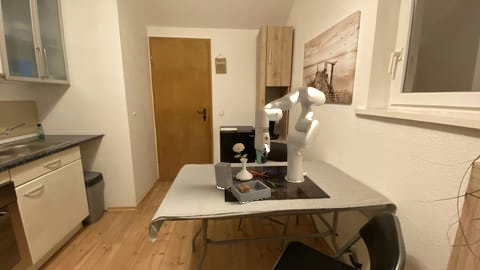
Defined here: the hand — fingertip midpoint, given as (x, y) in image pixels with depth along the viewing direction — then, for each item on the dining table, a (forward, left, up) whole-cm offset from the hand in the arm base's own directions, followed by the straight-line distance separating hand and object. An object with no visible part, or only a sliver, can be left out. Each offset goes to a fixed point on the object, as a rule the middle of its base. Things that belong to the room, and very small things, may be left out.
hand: (261, 161), depth 121 cm
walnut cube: (+12, +2, -17) cm, 21 cm away
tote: (+8, +2, -18) cm, 20 cm away
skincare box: (+18, -14, -19) cm, 30 cm away
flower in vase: (+1, -23, -19) cm, 30 cm away
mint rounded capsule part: (0, 0, -1) cm, 1 cm away
